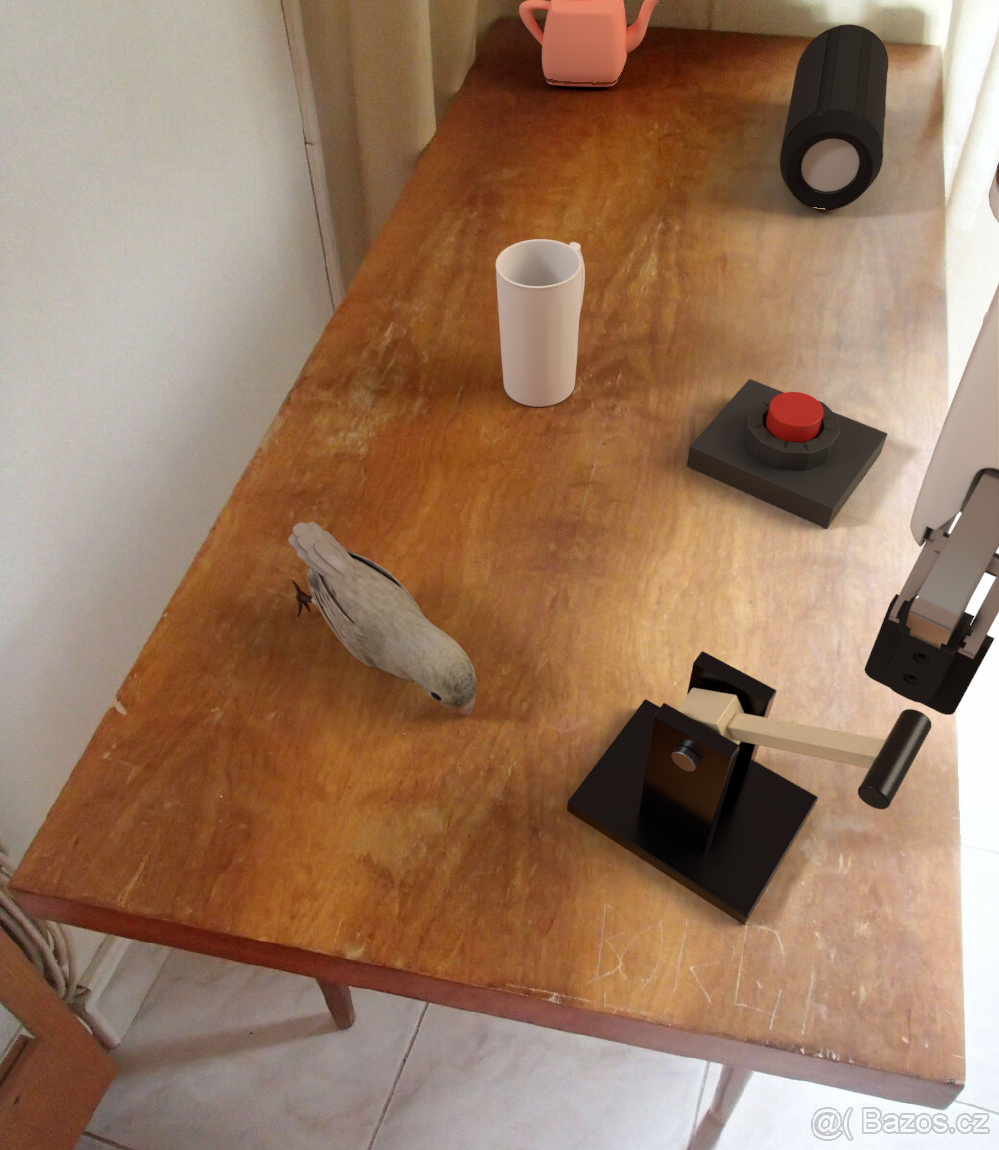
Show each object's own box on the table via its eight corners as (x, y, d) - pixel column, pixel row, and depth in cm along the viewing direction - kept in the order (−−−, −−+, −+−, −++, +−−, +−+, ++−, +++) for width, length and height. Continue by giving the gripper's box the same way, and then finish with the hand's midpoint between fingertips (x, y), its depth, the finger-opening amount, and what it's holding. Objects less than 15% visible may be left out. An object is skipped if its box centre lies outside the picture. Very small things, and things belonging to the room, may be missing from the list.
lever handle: (937, 740, 46) (925, 703, 45) (895, 820, 44) (881, 783, 42) (719, 700, 55) (705, 669, 54) (674, 765, 52) (658, 734, 51)
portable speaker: (868, 224, 100) (894, 127, 93) (769, 214, 102) (786, 118, 95) (876, 110, 116) (899, 19, 108) (790, 102, 118) (807, 12, 110)
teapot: (526, 52, 130) (525, -36, 122) (664, 56, 128) (672, -34, 120) (513, 91, 123) (511, 0, 115) (659, 96, 120) (668, 4, 112)
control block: (880, 454, 79) (894, 415, 76) (826, 529, 74) (839, 491, 71) (745, 399, 84) (752, 360, 81) (686, 466, 79) (691, 428, 76)
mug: (549, 420, 83) (550, 297, 74) (485, 392, 86) (478, 270, 76) (612, 357, 88) (620, 235, 79) (549, 332, 91) (550, 212, 82)
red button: (827, 421, 76) (832, 403, 75) (804, 450, 74) (809, 433, 73) (780, 402, 78) (784, 384, 77) (756, 430, 76) (760, 413, 75)
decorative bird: (443, 747, 63) (433, 681, 57) (285, 615, 71) (262, 545, 65) (500, 694, 66) (496, 626, 60) (341, 572, 73) (324, 501, 67)
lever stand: (814, 806, 60) (863, 699, 51) (744, 925, 55) (783, 832, 46) (643, 708, 64) (659, 594, 55) (566, 811, 60) (569, 705, 51)
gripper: (1268, 405, 18) (977, 829, 31) (1405, 60, 27) (1132, 505, 40) (877, 281, 21) (761, 713, 34) (1112, 9, 30) (948, 436, 43)
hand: (960, 601), depth 37 cm, fingers open, 9 cm apart
